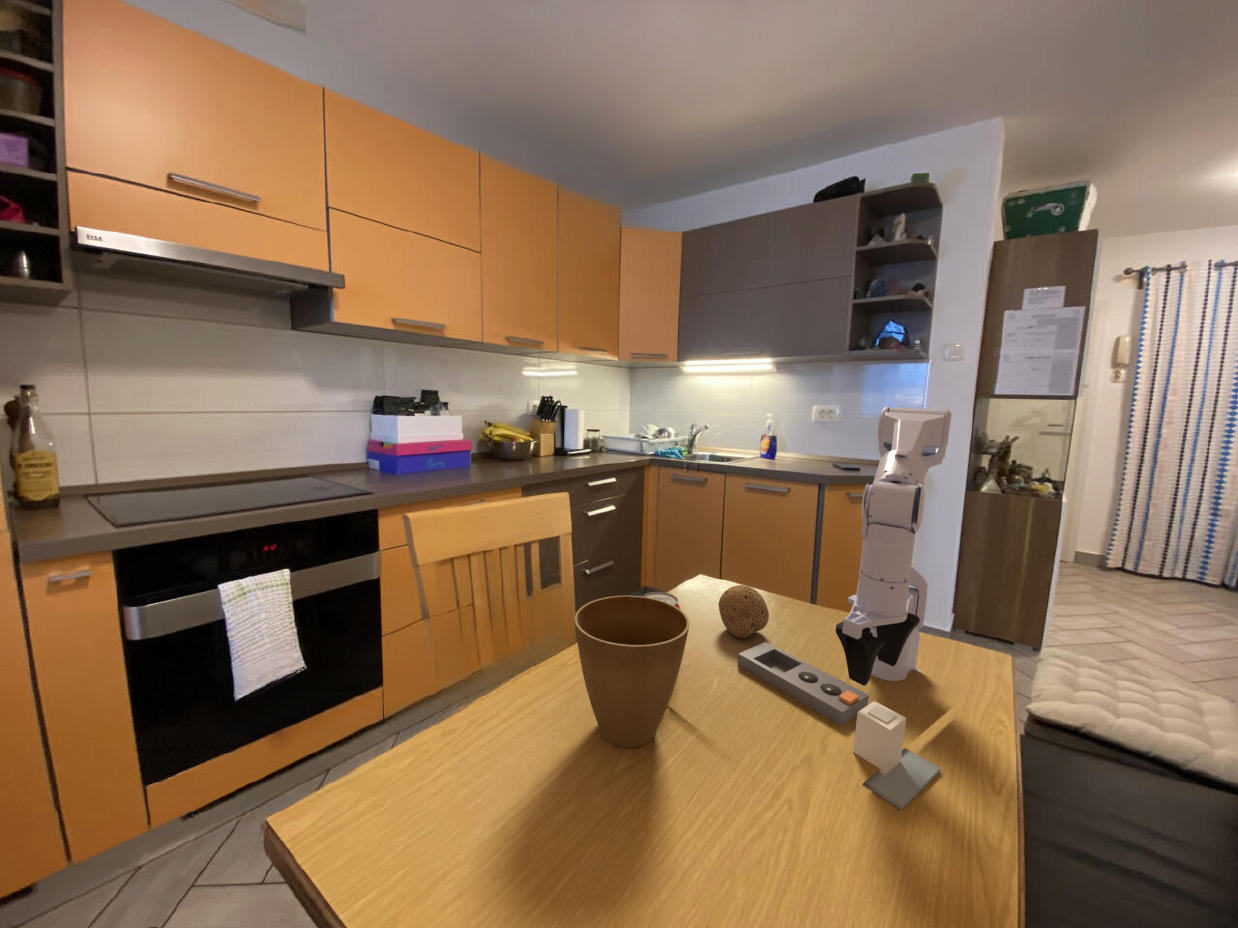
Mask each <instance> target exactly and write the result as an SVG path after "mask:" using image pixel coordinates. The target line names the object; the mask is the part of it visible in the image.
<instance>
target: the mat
mask: <svg viewBox="0 0 1238 928" xmlns="http://www.w3.org/2000/svg"><path fill="white" fill-rule="evenodd" d="M940 772H941V767H939V766H938V765H936V764H934V763H932V762H930V761H929V760H927V759H925V758H923V757H922V756H920V755H919V754H916V753H914V752H913V751H911V750H909V749H907V748H906V747H904V748H902V755H901V762H900V763H898V764H897V765H896V766H895V767H894V768H892V769H891V770H890V771H889V772H888V773H887V774H885V775H883V774H882V773H880V772H879V771H878V770H877V771H875V773H874V774H872V775H871V776H870V777H869V778H867V779H866V780H865V781H864V782H863V783H862V785H863V786H864V787H866V788H867V789H868V790H870V791H872V792H873V793H875V794H876V795H878V796H880V798H882V799H884V800H886V801H887V802H889V803H890V804H891V805H893V806H894V807H896V808H897V809H899V810H900V811H902V810H904V808H905V807H907V805H908V804H910V803H911V801H912V800H914V798H916V796H918V795H919V794H920V793H921V791H923V789H925V788H926V787H927V786H928V784H929V783H931V782H932V781H933V780H934V778H935V777H937V775H938V774H939V773H940Z"/></svg>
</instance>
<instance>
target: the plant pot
mask: <svg viewBox="0 0 1238 928" xmlns="http://www.w3.org/2000/svg"><path fill="white" fill-rule="evenodd" d="M680 609H681V608H680ZM680 609H679V608H677V607H676V606H674V605H671V604H669V603H667V602H664V601H661V600H657V599H653V598H648V597H643V596H641V595H615V596H607V597H603V598H599V599H595V600H592V601H589V602H587V603H586V604H584V605H582V606H581V607H580V608H579V609H578V610H577V611H576V613H575V615H574V625H575V633H576V641H577V650H578V653H579V655H578V656H579V660H580V665H581V670H582V674H583V676H582V677H583V680H584V684H585V688H586V692H587V696H588V700H589V702H590V705H591V708H592V711H593V715H594V717H595V719H596V720H595V721H596V723H597V725H598V728H599V731H600V732H601V735H602V737H603V738H604V739H605V740H606V741H607V742H608V743H610V744H612V745H614V746H617V747H621V748H637V747H641V746H644V745H647V743H649V742H651V740H652V739H653V738H654V736H655V734H656V732H657V731H658V729H659V726H660V724H661V722H662V720H663V718H664V715H665V713H666V711H667V707H668V705H669V703H670V700H671V698H672V694H673V691H674V688H675V686H676V683H677V679H678V675H679V672H680V669H681V664H682V660H683V656H684V653H685V647H686V644H687V638H688V634H689V629H690V620H689V617H688V616H687V614H686V613H685V612H684V611H683V610H682V609H681V610H680Z"/></svg>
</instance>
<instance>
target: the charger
mask: <svg viewBox="0 0 1238 928" xmlns="http://www.w3.org/2000/svg"><path fill="white" fill-rule="evenodd" d="M855 722H856V723H855V724H856V725H855V733H854V742H853V751H852V753H854V754H855V755H858V756H859V757H860V758H862V759H864V760H865V761H867V762H868V763H870V764H872V765H873V766H875V767H876V768H878V770H877V771H879V772H880V773H882V774H883V775H885V774H887V773H888V772H889V771H890V770H891V769H892V768H894V767H895V766H896V765H897V764H898V763H900V762H901V755H902V750H903V745H904V739H905V731H906V724H907V717H905V716H903V715H902V714H900V713H898V712H896V711H894V710H893V709H890V708H888V707H886V706H885V705H882V704H880V703H879V702H877V701H875V700H874V701H872V702H871V703H868V705H867V706H866V707H864V708H863V709H861V710H860V711H858V714H857V715H856V721H855Z"/></svg>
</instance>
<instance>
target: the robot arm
mask: <svg viewBox="0 0 1238 928" xmlns="http://www.w3.org/2000/svg"><path fill="white" fill-rule="evenodd" d="M951 420H952V412H951V411H950V409H949V408H944V410H943V409H934V408H933V409H932V408H931V409H928V408H927V409H926V408H907V407H891V406H885V407H883V409H882V410H881V411H880V415H879V420H878V426H877V441H878V452H879V453H880V455H879V456H880V460H879V463H878V466H877V468H876V472H875V475H874V479H873V482H872V484H869V483H866V485H865V488H864V491H863V496H862V502H861V512H860V513H861V525H862V526H861V539H863V541H862V547H861V557H860V558H861V559H860V567H859V576H858V583H857V586H856V590H855V591H856V592H855V594H853V595H850V596H849V597H848V598H847V603H849V604H850V605H852V607H851V610H849V614H848V615H847V616H846V617H844V618H843V621H841V622H838V623H837V624H836V625H835V633H836V636H837V637H838V639H839V641H840V644H841V646H842V648H843V651H844V655H845V660H846V666H847V673H848V678H849V680H851V681H853V682H855V683H857V684H859V685H862V686H864V687H865V686H866V685H868V683H869V681H870V679H871V677H875V678H878V679H881V680H885V681H889V682H890V681H891V682H892V681H893V682H900V681H903V680H905V679H906V678H907V677H908V674H909V672H911V671H912V670H913V671H914V672H915V671H916V672H918V673H920V674H922V670H921V669H918V668H917V663H918V662H917V661H918V654H919V647H920V640H921V638H920V637H921V635H920V631H919V630H920V629H921V628H923V627H924V623H925V622H924V620H925V615H926V608H927V607H926V606H927V599H928V593H927V592H928V587H929V586H928V583H927V580H926V578H925V577H924V576H923V575H922V574H921V573H920V572H919V571H917V570H916V569H915V568H914V567H913V566H912V565H913V556H914V548H915V541H916V533H918V531H919V529H920V527H921V524H922V520H923V513H924V504H925V491H924V489H925V488H924V482H925V477H926V475H927V473H928V471H929V470H930V468H932V467H936V466H938V465H942V463H943V460H944V458H945V457H946V451H947V446H948V443H949V436H950V428H951V422H952V421H951ZM911 586H912V587H911Z"/></svg>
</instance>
